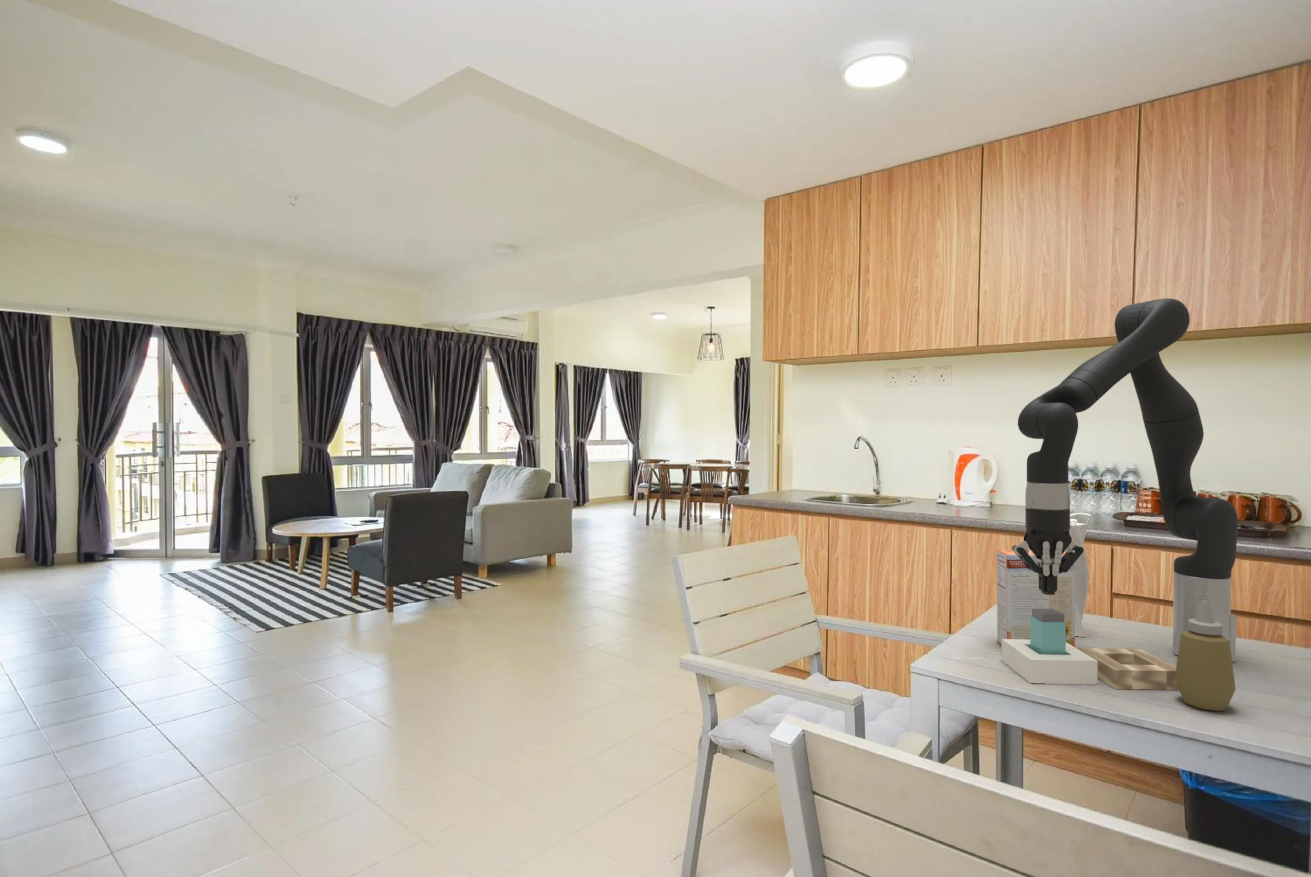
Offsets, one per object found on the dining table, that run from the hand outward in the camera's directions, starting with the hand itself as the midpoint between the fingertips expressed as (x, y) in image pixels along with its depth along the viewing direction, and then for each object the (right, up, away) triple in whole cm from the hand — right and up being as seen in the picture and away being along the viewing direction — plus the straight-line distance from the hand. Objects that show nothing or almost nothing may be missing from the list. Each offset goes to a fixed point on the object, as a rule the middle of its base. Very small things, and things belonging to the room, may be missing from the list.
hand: (1047, 593), depth 130 cm
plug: (0, -16, 0) cm, 16 cm away
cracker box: (+6, -15, +15) cm, 22 cm away
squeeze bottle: (+18, -16, -15) cm, 28 cm away
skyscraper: (+20, -15, +24) cm, 34 cm away
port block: (0, -15, 0) cm, 15 cm away
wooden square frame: (+14, -15, -2) cm, 21 cm away
